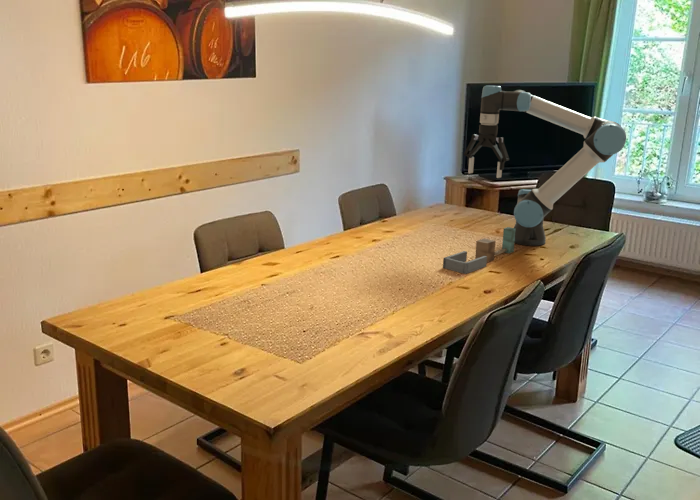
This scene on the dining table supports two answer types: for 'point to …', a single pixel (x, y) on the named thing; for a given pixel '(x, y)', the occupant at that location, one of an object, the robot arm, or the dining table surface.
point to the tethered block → (488, 246)
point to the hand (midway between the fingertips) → (484, 175)
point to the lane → (463, 263)
